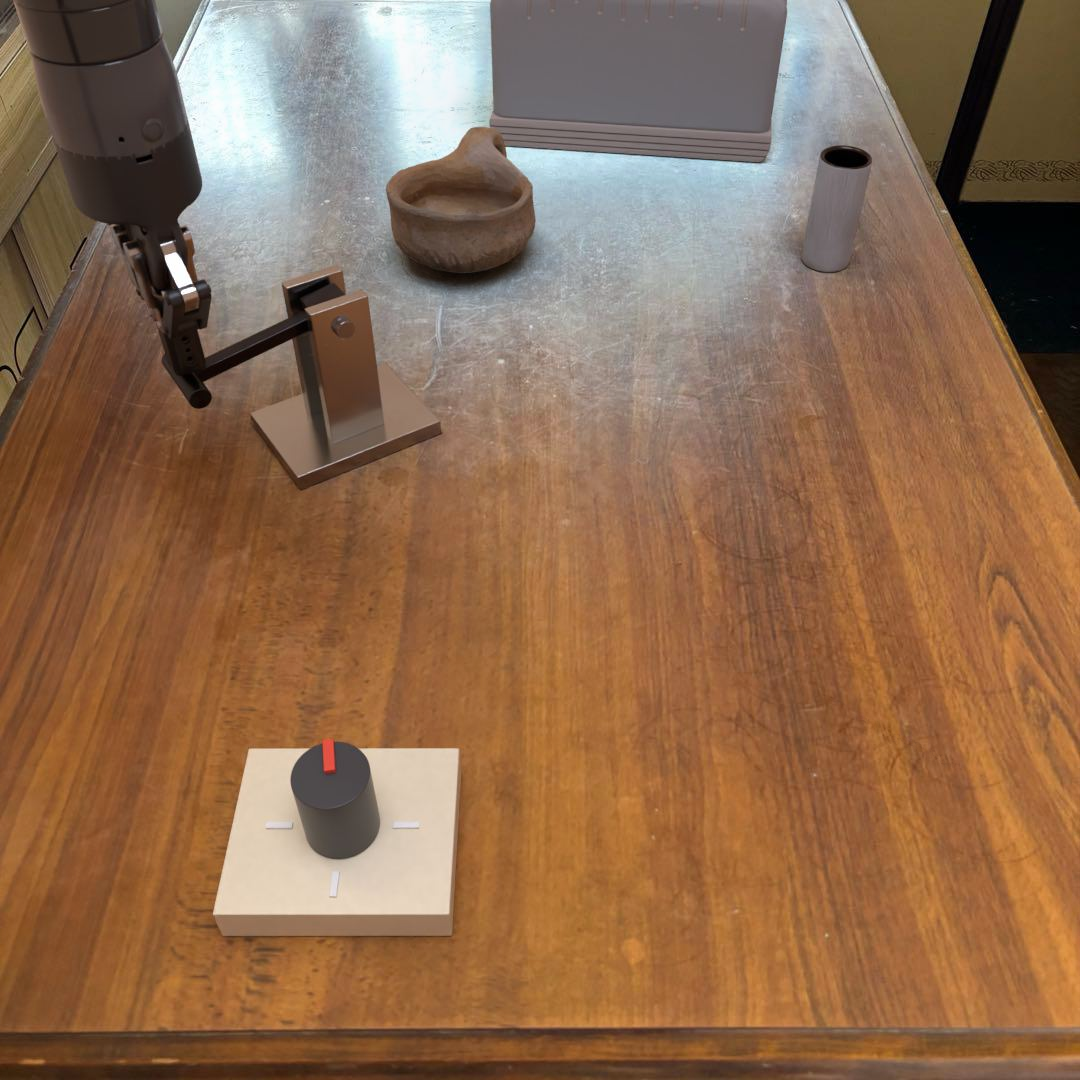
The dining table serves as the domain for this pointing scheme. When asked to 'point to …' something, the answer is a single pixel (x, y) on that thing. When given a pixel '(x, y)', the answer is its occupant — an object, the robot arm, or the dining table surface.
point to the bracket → (339, 391)
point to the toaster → (637, 75)
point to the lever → (248, 349)
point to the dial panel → (353, 883)
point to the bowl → (463, 207)
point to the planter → (835, 207)
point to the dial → (336, 799)
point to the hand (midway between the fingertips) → (188, 367)
